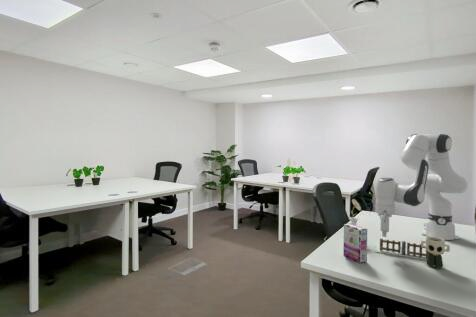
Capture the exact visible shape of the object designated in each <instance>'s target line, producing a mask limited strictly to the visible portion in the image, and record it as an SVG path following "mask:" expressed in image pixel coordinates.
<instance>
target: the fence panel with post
mask: <svg viewBox="0 0 476 317" xmlns="http://www.w3.org/2000/svg"><path fill="white" fill-rule="evenodd" d="M401 247H402V254H403V255H405V253H406V247H407V255H409V254H413V256H416V255H419V257H422V256H426V258H427V256H428V253H429V252H427V251H426V254H424V253H422V250H423V248H422V247H421V243H420V244H417V243H415V242H413V243H410V242H408V241H407V243H406V241H404V240H402V241H401ZM410 248H413V252H411V251H410ZM417 248H418V249H419V253H418V252H416V249H417Z"/></svg>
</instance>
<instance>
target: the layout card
mask: <svg viewBox="0 0 476 317" xmlns="http://www.w3.org/2000/svg"><path fill="white" fill-rule="evenodd" d="M383 247H384V248H387V243H386V244H385V243H383ZM389 248H391V249H392V244H389ZM395 249H398V245H395ZM410 251H411V252H413V247H410ZM416 252H418V253H419V248H416ZM375 253H380V254H386V255H391V256H392V255H393V256H398V257H405V258H410V259H417V260H424V261H427V258H426V256H422V257H419V255H416V256H413V254H409V255H407V246H406V253H405V255H403V254H402V246H401V247H400V253H398V252H395V251H394V252H392V251H389V252H388V251H386V250H383V251H381V250H380V242H376V243H375ZM422 253H424V254H426V249H422Z"/></svg>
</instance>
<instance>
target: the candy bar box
mask: <svg viewBox="0 0 476 317" xmlns="http://www.w3.org/2000/svg"><path fill="white" fill-rule="evenodd" d="M343 237H344V238H343V256H344V257H346V258H349V259H350V260H352V261H354V262H357V263H358V264H362V263H367V261H368V228H366V227H362V226H360V225H357V224H356V225H354V224H352V223H345V224H343Z"/></svg>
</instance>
